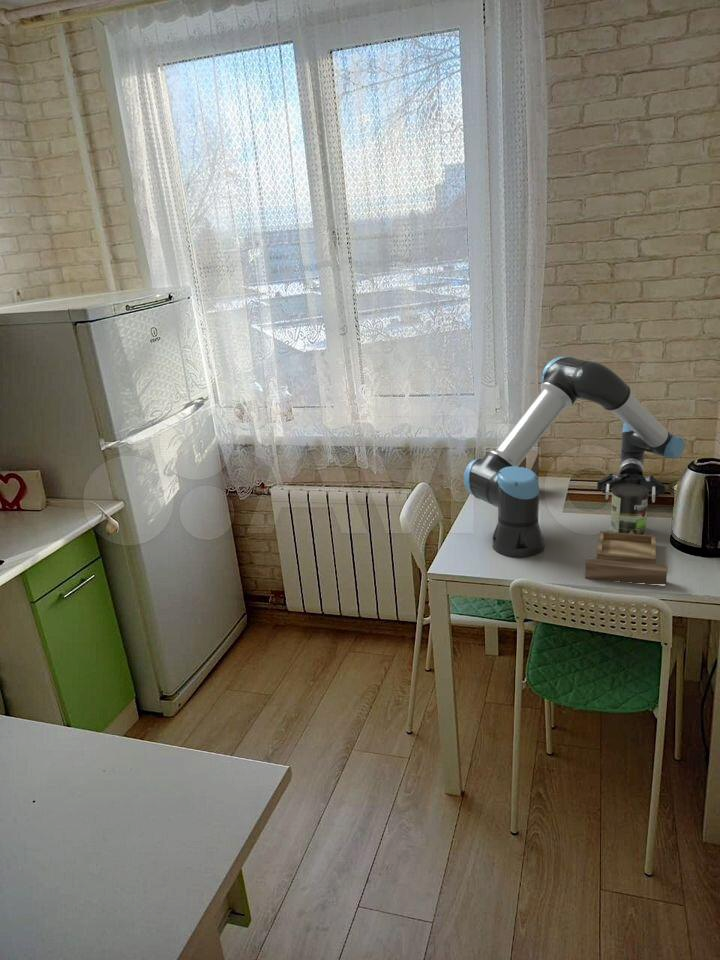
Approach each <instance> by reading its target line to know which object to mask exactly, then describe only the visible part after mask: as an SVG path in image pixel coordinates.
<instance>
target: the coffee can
mask: <svg viewBox="0 0 720 960" xmlns="http://www.w3.org/2000/svg"><path fill="white" fill-rule="evenodd" d="M611 492H612V493H611V505H610V506H611V507H610V508H611V509H610V524H609V525H610V527H609V532H617V533H629V534H641V535H646V529H647V527H646V526H647V517H648V515H647V514H648V513H647V512H648V503H649V493H650V491H649V490H648V488H646V487H644V486H642V485H638V484H619V485H615V486H614V487H612V489H611Z"/></svg>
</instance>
